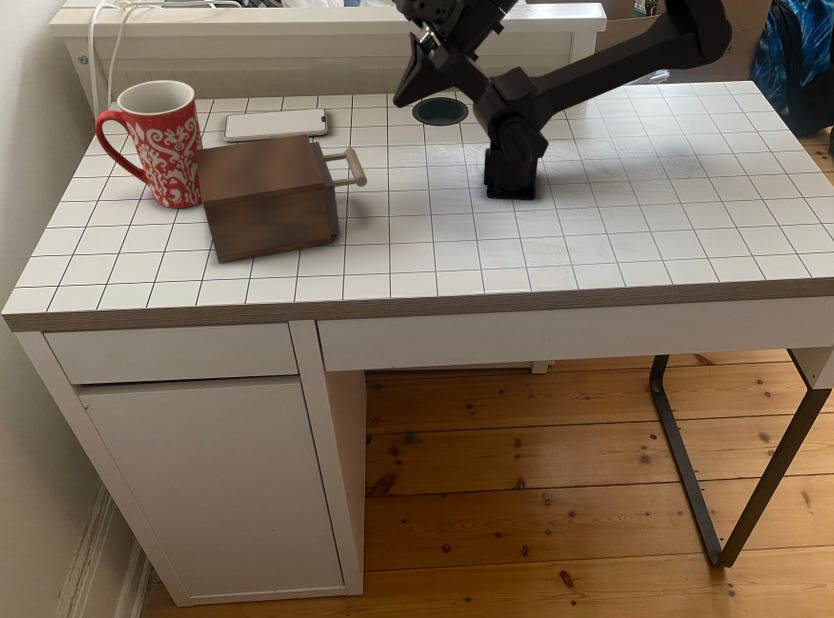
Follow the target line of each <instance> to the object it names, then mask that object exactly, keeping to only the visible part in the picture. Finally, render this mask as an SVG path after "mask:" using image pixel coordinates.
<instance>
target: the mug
mask: <svg viewBox="0 0 834 618" xmlns="http://www.w3.org/2000/svg"><path fill="white" fill-rule="evenodd" d="M195 99H196V92H195V90H194V88H193V87H192V86H191V85H189V84H187V83H185V82H182V81H177V80H169V79H168V80H167V79H163V80H152V81H146V82H142V83H139V84H135V85H132V86H130V87H128V88H127V89H125V90H124V91H122V92H121V93H120V94H119V96H118V97H117V100H116V102H117V103H116V104H117V106H118V108H119V109H120V110H121V111H119V110H105V111H103V112H101V113H99V114H98V116H97V117H96V119H95V122H94V132H95V136H96V139H97V141H98V143H99V145H100V147H101V148H102V150H103V151H104V152H105V153H106V154H107V155H108V157H110V158H111V159H112V160H113V161H114V162H115V163H116V164H118V165H119V166H120V167H121V168H123V169H124V170H125V171H126V172H128V173H129V174H131V175H132V176H133V177H135V178H137V180H139V181H141V182H142V183H144V184H146V185H147V186H148V187H149V188H150V191H151V194H152V196H153V200H154V201H155V202H156V203H157V204H158V205H160V206H163V207H166V208H172V209H183V208H188V207H192V206H195V205H197V204H199V203H202V197H201V190H200V182H199V175H198V167H197V160H196V152H195V150H199V149H204V145H203V139H202V133H201V127H200V124H199V123H200V122H199V118H198V117H199V116H198V112H197V107H196V106H197V105H196V101H195ZM107 121H108V122H109V121H114V122H116V123H118V124H120V125H121V126H122V127H123V128H124V129H125V131H126V132H127V134H128V135H129V136H131V139H132V142H133V145H134V147H135V150H136V152H137V155H138V158H139V161H140V164H141V166H142V168H140V167H138V166H137V165H135V164H134V163H132V162H131V161H130V160H128V159H127V158H126V157H125V156H124V155H122V154H121V153H120V152H119V151H117V150H116V149H115V148H114V147H113V146H112V144H111V143H110V142H109V140H108V139H107V137H106V136H105V133H104V130H103V125H104V123H106V122H107Z"/></svg>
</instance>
